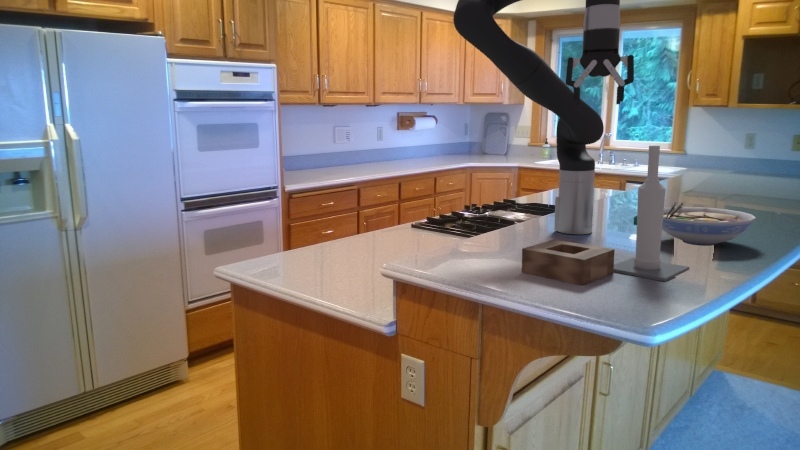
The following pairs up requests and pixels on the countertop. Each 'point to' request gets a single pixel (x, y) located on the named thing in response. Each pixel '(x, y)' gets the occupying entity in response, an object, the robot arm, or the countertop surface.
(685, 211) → the ramen bowl
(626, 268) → the slate mat
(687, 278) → the countertop surface
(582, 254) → the walnut holder
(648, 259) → the bottle
